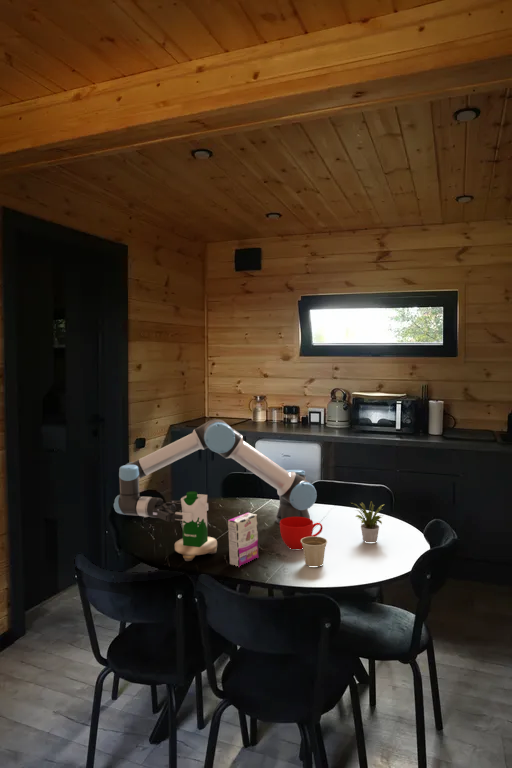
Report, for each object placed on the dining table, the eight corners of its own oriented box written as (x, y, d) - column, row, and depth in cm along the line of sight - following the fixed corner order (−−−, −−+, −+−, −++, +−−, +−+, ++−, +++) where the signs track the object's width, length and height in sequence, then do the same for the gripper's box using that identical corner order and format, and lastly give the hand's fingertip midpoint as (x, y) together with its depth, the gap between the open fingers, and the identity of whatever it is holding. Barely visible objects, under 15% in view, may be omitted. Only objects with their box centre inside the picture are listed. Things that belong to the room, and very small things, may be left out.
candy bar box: (248, 554, 197) (248, 511, 196) (259, 557, 193) (258, 514, 192) (228, 564, 188) (227, 519, 187) (238, 567, 185) (237, 522, 184)
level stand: (224, 548, 204) (223, 538, 203) (205, 564, 189) (205, 553, 188) (187, 543, 209) (187, 533, 209) (167, 558, 194) (166, 548, 194)
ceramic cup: (327, 551, 199) (327, 525, 198) (283, 554, 196) (283, 528, 195) (317, 539, 211) (317, 514, 211) (276, 542, 209) (276, 517, 208)
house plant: (345, 545, 204) (344, 504, 203) (352, 533, 217) (351, 495, 216) (382, 550, 199) (382, 507, 198) (387, 537, 211) (387, 497, 210)
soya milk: (179, 546, 196) (178, 493, 195) (190, 537, 204) (189, 487, 203) (201, 548, 193) (199, 495, 192) (211, 540, 202) (209, 488, 200)
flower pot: (299, 559, 191) (298, 536, 190) (324, 558, 192) (324, 535, 191) (303, 570, 181) (303, 546, 181) (330, 569, 182) (330, 544, 182)
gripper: (167, 507, 216) (214, 512, 209) (133, 526, 193) (184, 532, 186) (167, 489, 216) (213, 493, 208) (132, 506, 193) (183, 511, 185)
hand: (200, 512), depth 197 cm, fingers open, 13 cm apart
